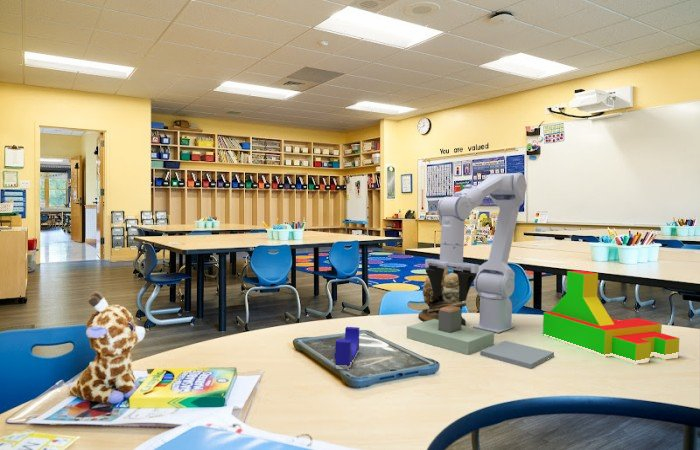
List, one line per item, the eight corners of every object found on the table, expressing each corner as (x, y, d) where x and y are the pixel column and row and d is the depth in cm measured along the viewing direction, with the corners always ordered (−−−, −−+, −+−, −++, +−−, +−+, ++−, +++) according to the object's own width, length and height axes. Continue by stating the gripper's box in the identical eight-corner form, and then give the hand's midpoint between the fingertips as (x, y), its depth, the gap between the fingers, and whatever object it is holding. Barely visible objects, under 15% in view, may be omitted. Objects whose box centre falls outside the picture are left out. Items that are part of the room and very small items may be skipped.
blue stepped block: (340, 351, 110) (340, 326, 110) (358, 353, 109) (359, 327, 109) (328, 369, 98) (328, 341, 98) (349, 371, 97) (349, 342, 97)
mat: (505, 344, 117) (505, 340, 117) (553, 356, 108) (554, 352, 108) (480, 355, 109) (480, 350, 108) (530, 368, 100) (531, 364, 100)
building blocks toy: (627, 367, 103) (631, 284, 102) (542, 336, 126) (545, 268, 125) (685, 358, 110) (689, 280, 109) (594, 330, 133) (597, 266, 132)
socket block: (433, 329, 130) (434, 318, 130) (493, 344, 117) (494, 332, 117) (406, 337, 121) (406, 326, 121) (467, 354, 109) (468, 342, 108)
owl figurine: (478, 326, 134) (480, 267, 133) (446, 331, 129) (447, 270, 128) (439, 312, 150) (440, 259, 149) (408, 316, 145) (409, 261, 144)
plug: (449, 337, 122) (450, 305, 122) (460, 340, 120) (461, 307, 119) (437, 341, 119) (438, 308, 118) (449, 344, 116) (450, 310, 116)
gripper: (419, 242, 120) (416, 295, 121) (469, 247, 110) (466, 304, 110) (435, 242, 125) (432, 292, 126) (484, 246, 115) (481, 301, 115)
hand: (449, 298), depth 118 cm, fingers open, 7 cm apart
